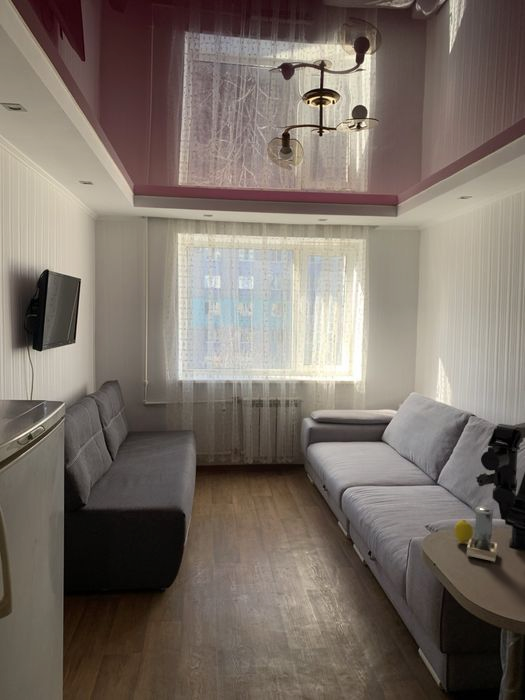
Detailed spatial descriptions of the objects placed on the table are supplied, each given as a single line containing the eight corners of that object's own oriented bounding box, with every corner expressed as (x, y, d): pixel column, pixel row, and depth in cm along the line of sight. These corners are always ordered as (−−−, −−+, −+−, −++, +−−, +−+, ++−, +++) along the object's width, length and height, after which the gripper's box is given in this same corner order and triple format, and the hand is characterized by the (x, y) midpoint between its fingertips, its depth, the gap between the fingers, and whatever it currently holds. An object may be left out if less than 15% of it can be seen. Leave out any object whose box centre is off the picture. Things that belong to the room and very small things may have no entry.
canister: (474, 545, 166) (476, 505, 165) (491, 548, 164) (493, 508, 163) (473, 551, 161) (475, 509, 161) (490, 554, 159) (492, 512, 159)
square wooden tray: (469, 548, 168) (469, 537, 168) (496, 553, 165) (497, 543, 164) (466, 558, 161) (467, 547, 161) (494, 564, 157) (495, 553, 157)
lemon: (454, 545, 170) (455, 521, 169) (453, 539, 175) (454, 515, 175) (472, 548, 168) (473, 524, 168) (471, 541, 174) (472, 517, 173)
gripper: (481, 455, 174) (478, 501, 175) (475, 468, 157) (473, 519, 158) (518, 459, 169) (515, 507, 170) (516, 474, 152) (513, 526, 153)
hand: (503, 514), depth 163 cm, fingers open, 9 cm apart
